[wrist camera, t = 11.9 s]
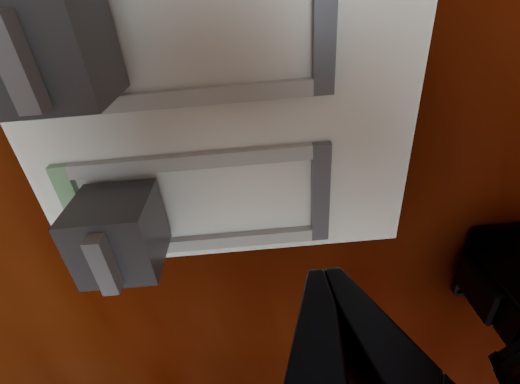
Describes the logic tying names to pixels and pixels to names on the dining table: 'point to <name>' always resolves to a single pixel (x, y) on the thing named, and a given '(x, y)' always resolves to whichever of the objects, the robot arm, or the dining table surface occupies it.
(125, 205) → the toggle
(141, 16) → the breaker board
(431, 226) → the dining table surface
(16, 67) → the toggle middle
